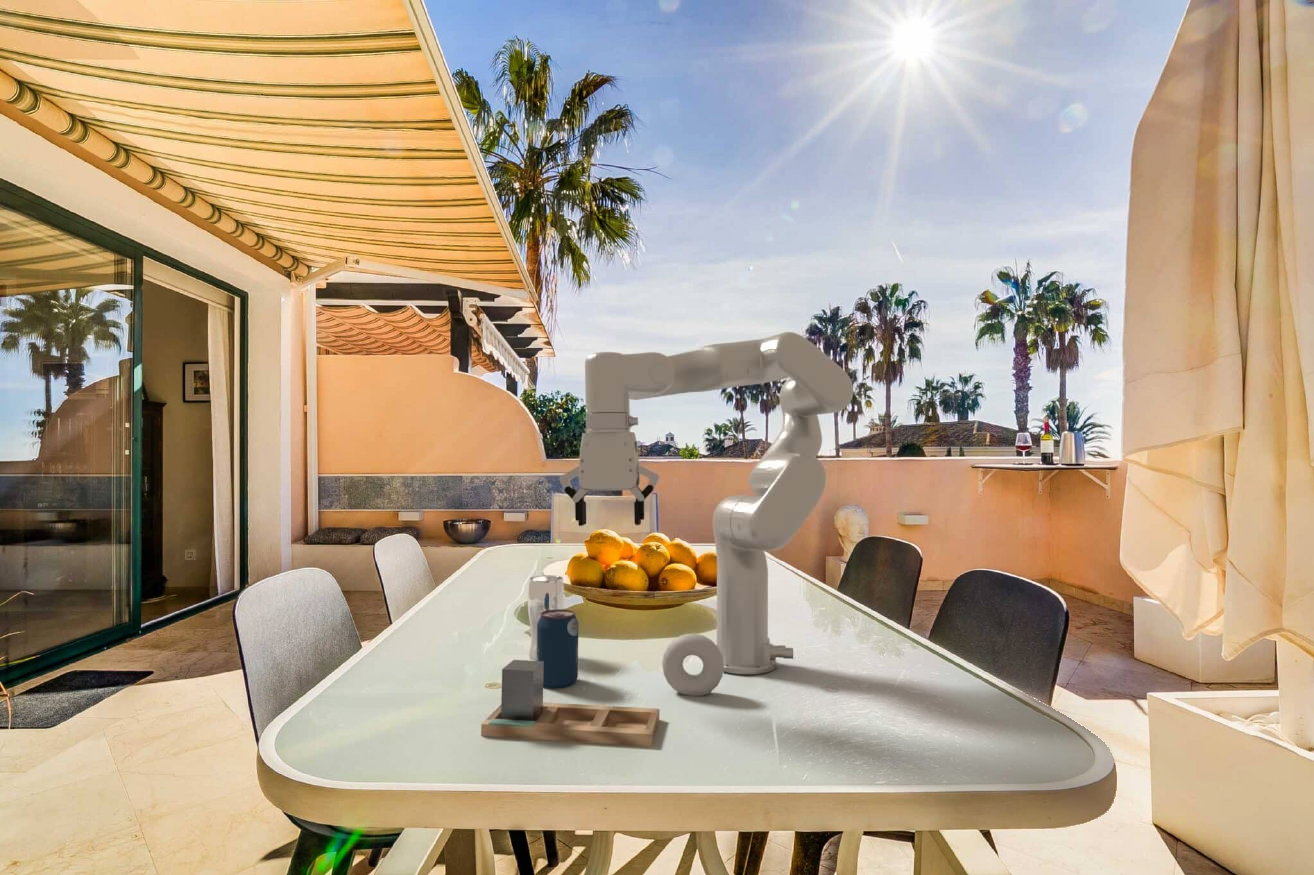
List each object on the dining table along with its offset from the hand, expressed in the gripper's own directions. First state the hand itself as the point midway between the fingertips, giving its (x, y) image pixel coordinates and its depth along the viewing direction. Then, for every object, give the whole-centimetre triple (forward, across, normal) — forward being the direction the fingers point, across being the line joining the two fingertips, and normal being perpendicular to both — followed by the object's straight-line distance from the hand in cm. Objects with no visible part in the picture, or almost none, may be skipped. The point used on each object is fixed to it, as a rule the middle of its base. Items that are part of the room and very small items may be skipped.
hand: (610, 524), depth 109 cm
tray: (+26, +2, +20) cm, 33 cm away
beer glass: (+27, +16, -14) cm, 34 cm away
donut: (+27, -14, +4) cm, 31 cm away
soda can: (+27, +9, +2) cm, 28 cm away
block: (+26, +10, +20) cm, 34 cm away
